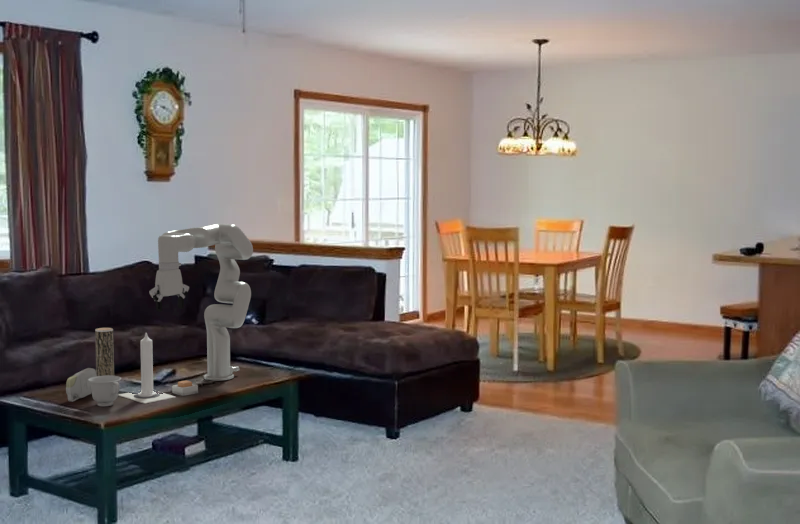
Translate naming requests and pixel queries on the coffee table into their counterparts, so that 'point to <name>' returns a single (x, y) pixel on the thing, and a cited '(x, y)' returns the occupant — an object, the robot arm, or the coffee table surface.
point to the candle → (146, 368)
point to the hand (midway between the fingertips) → (170, 309)
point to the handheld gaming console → (79, 384)
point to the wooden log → (104, 351)
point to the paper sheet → (146, 399)
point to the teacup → (105, 389)
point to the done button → (185, 383)
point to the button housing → (185, 390)
